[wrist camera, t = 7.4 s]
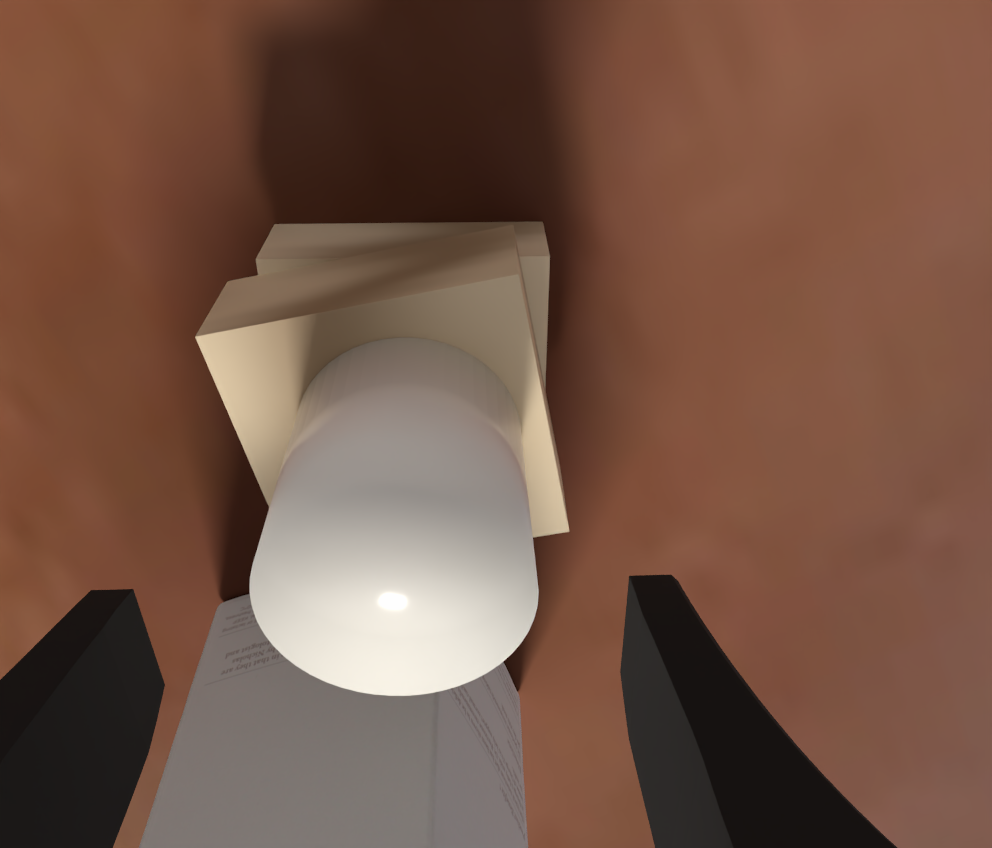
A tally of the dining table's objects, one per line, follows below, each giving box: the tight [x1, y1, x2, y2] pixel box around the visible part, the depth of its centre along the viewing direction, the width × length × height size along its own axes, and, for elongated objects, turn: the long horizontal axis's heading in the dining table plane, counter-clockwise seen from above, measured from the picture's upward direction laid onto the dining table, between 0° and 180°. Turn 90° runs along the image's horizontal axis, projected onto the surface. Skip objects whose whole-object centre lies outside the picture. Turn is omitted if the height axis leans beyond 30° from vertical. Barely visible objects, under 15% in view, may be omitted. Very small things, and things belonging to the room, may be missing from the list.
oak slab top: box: [195, 225, 569, 537], centre depth 18 cm, size 6×6×2 cm
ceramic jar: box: [250, 337, 539, 696], centre depth 15 cm, size 4×4×4 cm
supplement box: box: [139, 594, 528, 848], centre depth 22 cm, size 7×7×13 cm
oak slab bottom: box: [256, 222, 550, 386], centre depth 20 cm, size 6×6×2 cm
